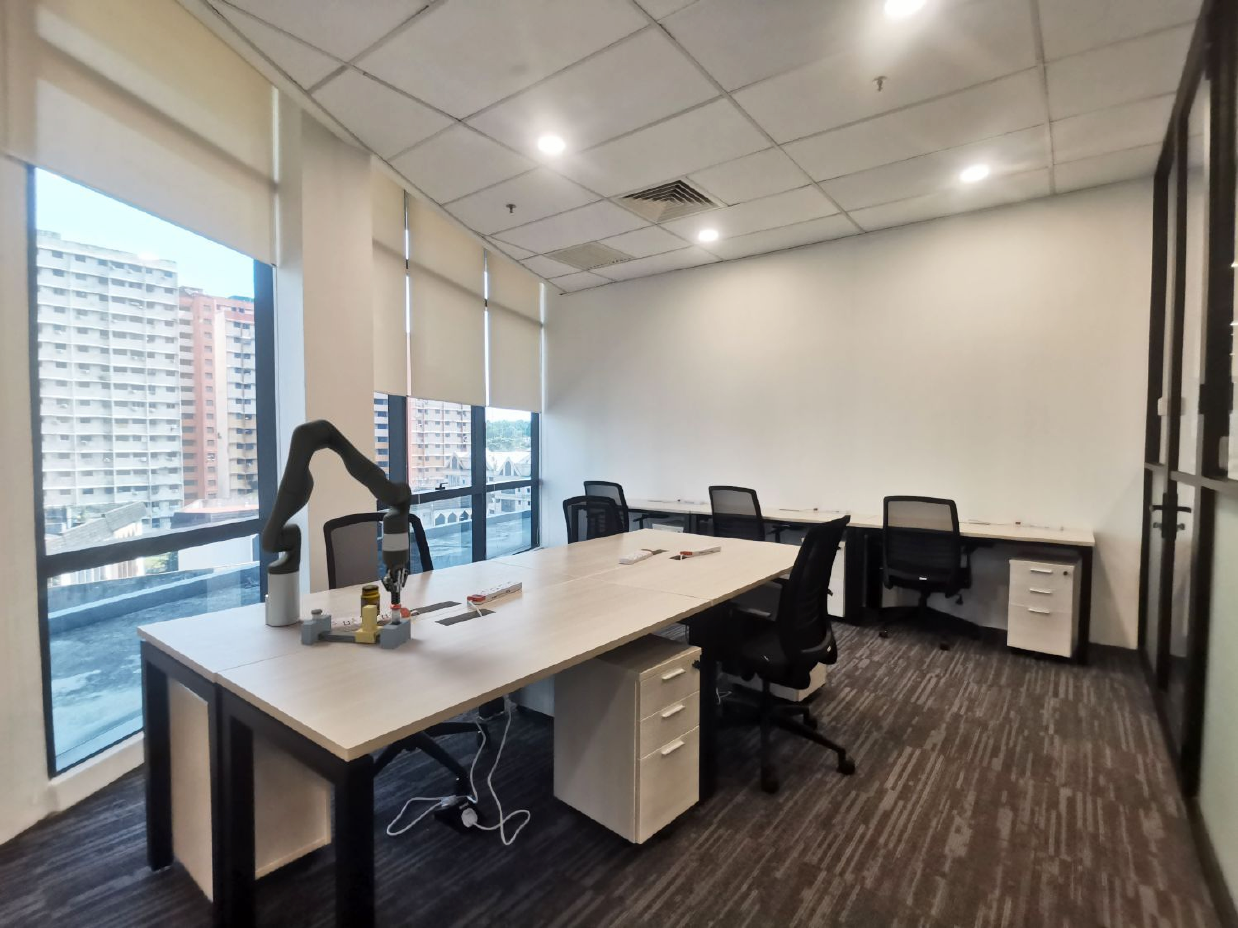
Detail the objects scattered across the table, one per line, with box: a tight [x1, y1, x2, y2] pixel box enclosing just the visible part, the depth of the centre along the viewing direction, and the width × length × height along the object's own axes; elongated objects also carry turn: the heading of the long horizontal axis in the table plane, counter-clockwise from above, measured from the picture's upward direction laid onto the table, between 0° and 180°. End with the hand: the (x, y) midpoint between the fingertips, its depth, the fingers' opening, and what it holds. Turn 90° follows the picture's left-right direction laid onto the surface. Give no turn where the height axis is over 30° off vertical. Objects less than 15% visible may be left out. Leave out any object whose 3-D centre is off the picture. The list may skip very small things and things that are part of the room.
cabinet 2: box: [379, 617, 412, 650], centre depth 171 cm, size 4×10×6 cm, turn 173°
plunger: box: [389, 603, 402, 625], centre depth 171 cm, size 3×3×6 cm
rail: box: [318, 630, 380, 645], centre depth 172 cm, size 22×3×2 cm, turn 83°
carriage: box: [354, 605, 383, 644], centre depth 172 cm, size 6×6×10 cm
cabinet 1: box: [300, 608, 332, 645], centre depth 174 cm, size 3×10×9 cm, turn 173°
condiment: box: [360, 584, 381, 618], centre depth 191 cm, size 7×8×12 cm
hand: (395, 603), depth 170 cm, fingers closed
